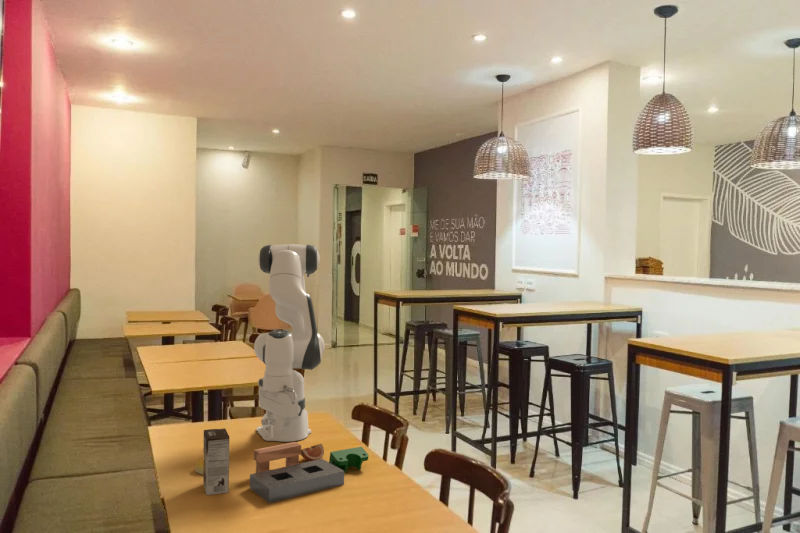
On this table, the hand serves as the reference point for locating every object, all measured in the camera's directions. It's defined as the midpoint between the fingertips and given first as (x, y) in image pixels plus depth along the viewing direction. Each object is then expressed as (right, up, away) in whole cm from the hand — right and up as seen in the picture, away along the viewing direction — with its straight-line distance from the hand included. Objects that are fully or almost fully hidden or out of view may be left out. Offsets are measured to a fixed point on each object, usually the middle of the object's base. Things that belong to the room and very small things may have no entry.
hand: (278, 428), depth 186 cm
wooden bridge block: (0, -14, +1) cm, 14 cm away
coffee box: (-16, -14, -12) cm, 24 cm away
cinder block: (+8, -14, -10) cm, 19 cm away
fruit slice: (+8, -14, +12) cm, 21 cm away
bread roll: (-21, -14, +2) cm, 26 cm away
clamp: (+22, -15, +5) cm, 27 cm away
